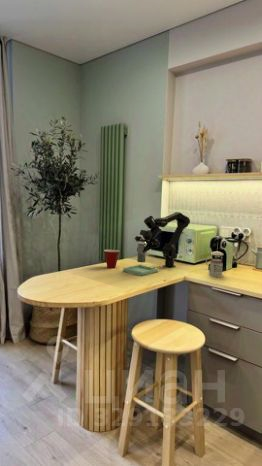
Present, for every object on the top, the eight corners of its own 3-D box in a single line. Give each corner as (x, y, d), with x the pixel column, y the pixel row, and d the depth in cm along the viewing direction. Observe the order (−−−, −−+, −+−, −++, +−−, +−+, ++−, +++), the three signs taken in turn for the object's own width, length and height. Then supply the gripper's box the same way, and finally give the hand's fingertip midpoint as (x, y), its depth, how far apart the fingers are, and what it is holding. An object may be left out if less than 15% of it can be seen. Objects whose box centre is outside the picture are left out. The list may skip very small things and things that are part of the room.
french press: (225, 276, 202) (228, 237, 199) (207, 276, 202) (209, 237, 199) (220, 273, 212) (223, 235, 209) (203, 272, 212) (205, 235, 209)
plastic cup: (120, 266, 222) (120, 249, 221) (118, 269, 211) (118, 251, 210) (104, 265, 223) (105, 248, 222) (101, 268, 212) (102, 250, 211)
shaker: (144, 260, 210) (144, 240, 208) (146, 262, 205) (147, 242, 203) (136, 260, 209) (136, 241, 207) (138, 262, 204) (139, 242, 202)
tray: (139, 267, 219) (139, 264, 219) (158, 272, 208) (158, 268, 208) (123, 271, 207) (123, 268, 207) (142, 276, 197) (142, 272, 196)
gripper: (137, 223, 213) (124, 241, 207) (157, 226, 200) (144, 245, 194) (145, 234, 220) (132, 252, 214) (165, 238, 206) (152, 257, 200)
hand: (140, 251), depth 205 cm, fingers closed on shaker, 5 cm apart
